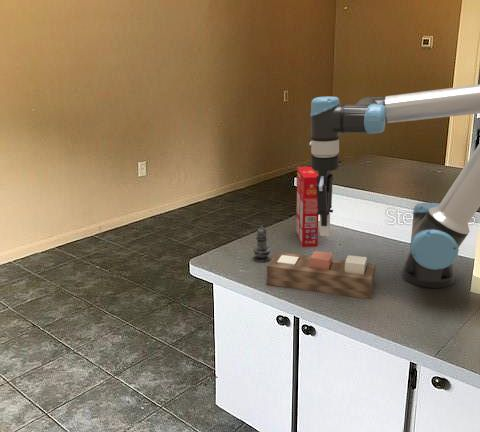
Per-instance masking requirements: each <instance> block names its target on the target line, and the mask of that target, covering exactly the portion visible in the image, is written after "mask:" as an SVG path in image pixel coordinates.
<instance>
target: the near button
mask: <svg viewBox="0 0 480 432" xmlns="http://www.w3.org/2000/svg"><path fill="white" fill-rule="evenodd" d="M345 260H346V261H345V272H346V273H354V274H362V275H365V272H366V263H368V262H367V261H368V257H367V256H360V255H359V256H358V255H351V254H348V255H347V257H346V258H345Z"/></svg>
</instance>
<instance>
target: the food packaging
mask: <svg viewBox="0 0 480 432" xmlns="http://www.w3.org/2000/svg"><path fill="white" fill-rule="evenodd" d="M318 175H319V173H317V171H316V170H313V169H312V168H311V166H297V167H296V214H295V215H296V216H295V234H296V233H297V234H296V236H297V238H298V240H299V243H300V244H301V247H302V248H313V247H319V246H318V242H319V237H318V236H319V219H320V215H317V212H318V202H317V190H316V184H318V183H317V176H318Z"/></svg>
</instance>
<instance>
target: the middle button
mask: <svg viewBox="0 0 480 432" xmlns="http://www.w3.org/2000/svg"><path fill="white" fill-rule="evenodd" d="M310 256H311V258H310V268H315V269H323V270H330V268H331V266H332V259H333V252H325V251H318V250H317V251H316V250H314V251H313V253H312V254H311V255H310Z"/></svg>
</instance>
